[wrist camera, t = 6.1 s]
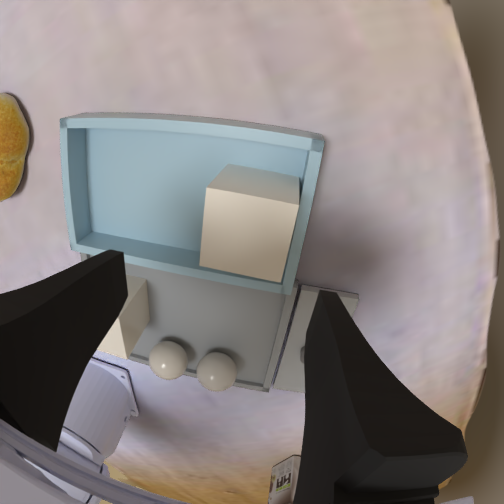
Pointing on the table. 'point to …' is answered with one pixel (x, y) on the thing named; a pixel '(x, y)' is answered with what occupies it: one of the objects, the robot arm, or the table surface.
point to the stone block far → (128, 320)
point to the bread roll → (11, 145)
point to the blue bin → (172, 185)
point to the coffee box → (284, 481)
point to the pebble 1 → (168, 360)
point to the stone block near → (249, 221)
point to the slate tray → (230, 325)
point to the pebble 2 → (216, 371)
